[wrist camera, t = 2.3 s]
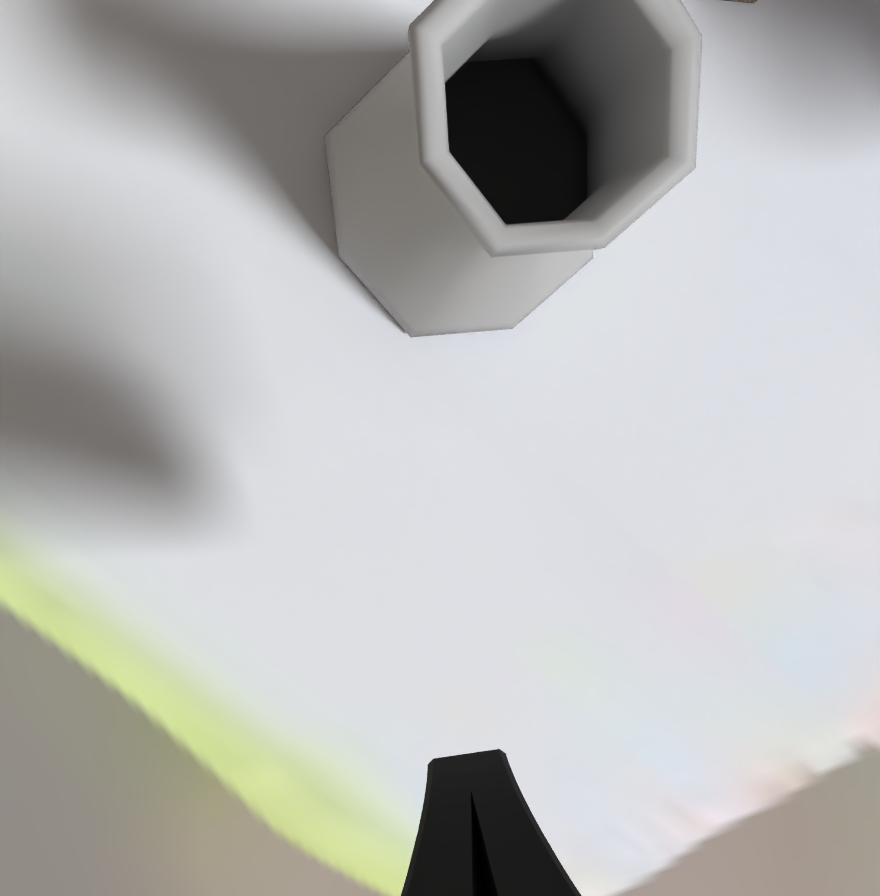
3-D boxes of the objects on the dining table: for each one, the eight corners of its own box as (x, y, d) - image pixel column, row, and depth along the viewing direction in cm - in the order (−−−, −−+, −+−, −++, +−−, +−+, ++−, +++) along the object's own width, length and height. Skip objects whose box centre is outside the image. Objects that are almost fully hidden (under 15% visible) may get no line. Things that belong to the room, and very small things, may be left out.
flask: (277, 117, 15) (55, -153, 5) (544, -7, 14) (823, -542, 5) (394, 377, 17) (386, 519, 7) (629, 276, 17) (940, 289, 7)
